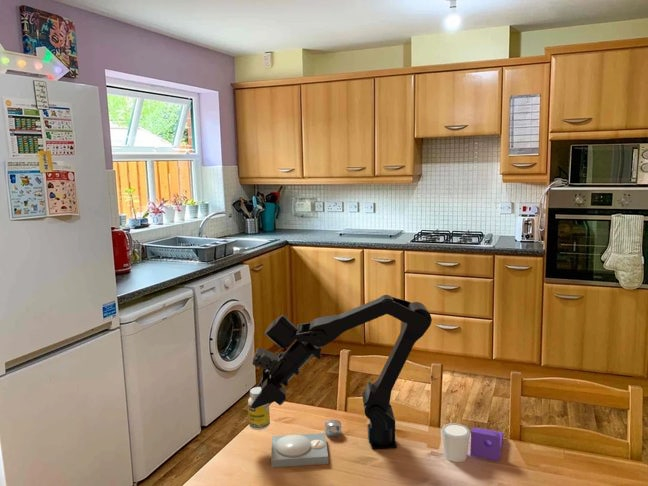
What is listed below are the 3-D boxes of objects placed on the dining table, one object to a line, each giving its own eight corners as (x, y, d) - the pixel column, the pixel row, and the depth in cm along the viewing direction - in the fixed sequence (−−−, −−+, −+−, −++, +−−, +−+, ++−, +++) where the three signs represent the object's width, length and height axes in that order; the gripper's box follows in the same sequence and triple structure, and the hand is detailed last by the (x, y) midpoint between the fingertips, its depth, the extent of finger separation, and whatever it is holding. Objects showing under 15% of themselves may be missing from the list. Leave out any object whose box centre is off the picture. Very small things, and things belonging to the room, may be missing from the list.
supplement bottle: (246, 429, 136) (243, 394, 134) (253, 419, 141) (251, 384, 140) (266, 431, 135) (264, 395, 133) (273, 420, 140) (271, 386, 138)
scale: (324, 439, 142) (324, 430, 141) (328, 463, 131) (328, 454, 131) (272, 443, 141) (272, 434, 140) (271, 467, 130) (271, 457, 130)
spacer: (340, 429, 147) (340, 419, 147) (342, 437, 143) (341, 427, 142) (324, 429, 147) (324, 419, 146) (325, 438, 143) (325, 428, 142)
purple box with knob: (499, 462, 130) (500, 436, 129) (470, 456, 133) (471, 431, 132) (503, 437, 141) (504, 413, 140) (476, 432, 144) (477, 409, 143)
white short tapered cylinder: (474, 454, 133) (475, 429, 132) (460, 466, 128) (461, 440, 127) (450, 444, 138) (450, 420, 137) (436, 456, 133) (436, 430, 132)
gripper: (271, 326, 143) (232, 368, 145) (269, 353, 125) (225, 399, 126) (301, 352, 145) (263, 392, 147) (304, 382, 127) (260, 427, 128)
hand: (253, 401), depth 137 cm, fingers closed on supplement bottle, 5 cm apart
